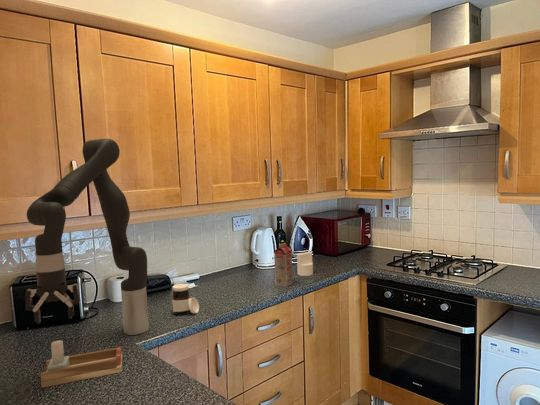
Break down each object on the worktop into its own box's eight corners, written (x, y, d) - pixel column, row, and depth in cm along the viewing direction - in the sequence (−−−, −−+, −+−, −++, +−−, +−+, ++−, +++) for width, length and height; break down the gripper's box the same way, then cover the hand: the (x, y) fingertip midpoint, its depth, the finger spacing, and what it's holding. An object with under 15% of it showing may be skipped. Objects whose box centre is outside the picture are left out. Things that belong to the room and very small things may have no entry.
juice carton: (275, 285, 206) (274, 244, 204) (282, 281, 211) (280, 242, 209) (286, 287, 202) (284, 245, 200) (292, 283, 208) (291, 243, 206)
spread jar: (172, 308, 176) (171, 283, 175) (198, 305, 179) (196, 281, 178) (173, 318, 164) (171, 291, 163) (200, 315, 167) (198, 288, 166)
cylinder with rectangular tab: (306, 270, 232) (306, 251, 231) (316, 274, 225) (315, 253, 224) (294, 273, 228) (293, 253, 227) (303, 276, 220) (302, 255, 219)
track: (48, 371, 123) (47, 357, 123) (122, 357, 131) (121, 344, 130) (41, 387, 114) (40, 373, 114) (121, 371, 121) (120, 358, 121)
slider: (51, 368, 122) (49, 340, 121) (69, 364, 123) (67, 337, 123) (48, 377, 116) (45, 348, 115) (66, 373, 118) (64, 345, 117)
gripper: (78, 262, 123) (81, 312, 124) (26, 268, 118) (30, 319, 119) (75, 268, 116) (79, 320, 117) (20, 273, 111) (24, 328, 112)
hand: (54, 320), depth 118 cm, fingers open, 8 cm apart
